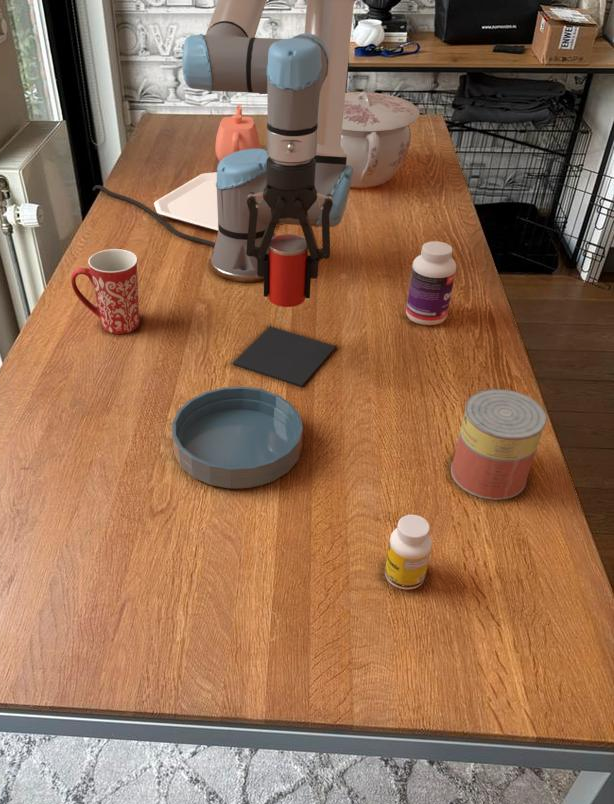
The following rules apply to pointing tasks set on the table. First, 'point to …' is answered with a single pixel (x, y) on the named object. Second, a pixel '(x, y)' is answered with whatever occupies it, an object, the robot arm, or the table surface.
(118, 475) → the table surface
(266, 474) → the dish
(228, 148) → the teapot
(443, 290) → the pill bottle
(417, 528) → the supplement bottle
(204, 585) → the table surface
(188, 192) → the plate
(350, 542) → the table surface
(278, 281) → the tin can
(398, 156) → the chamber pot
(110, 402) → the table surface
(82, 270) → the mug
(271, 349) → the mat
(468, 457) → the canned food
